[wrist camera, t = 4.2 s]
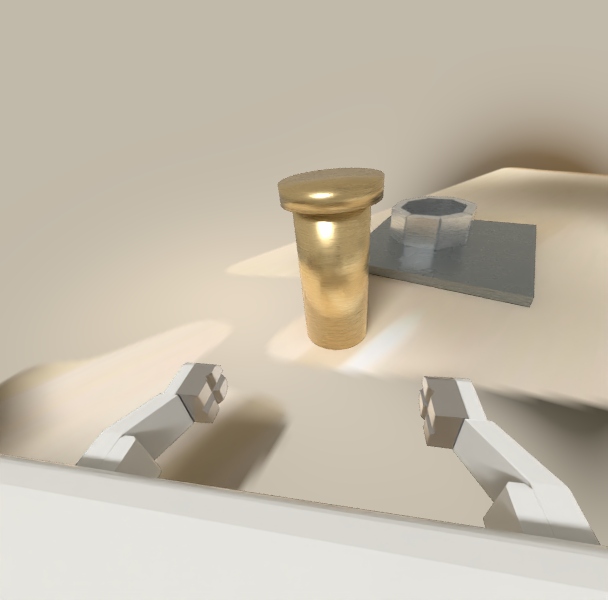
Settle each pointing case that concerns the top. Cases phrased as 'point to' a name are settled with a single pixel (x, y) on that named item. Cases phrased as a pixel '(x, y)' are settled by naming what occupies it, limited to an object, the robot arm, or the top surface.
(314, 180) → the brass fitting
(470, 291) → the flange base
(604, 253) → the top surface
